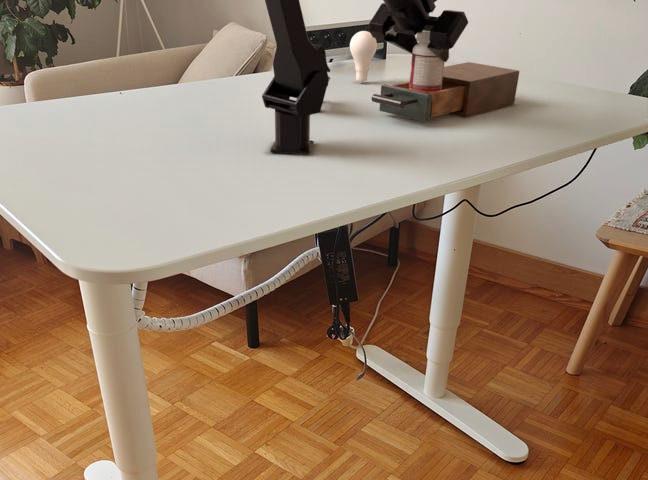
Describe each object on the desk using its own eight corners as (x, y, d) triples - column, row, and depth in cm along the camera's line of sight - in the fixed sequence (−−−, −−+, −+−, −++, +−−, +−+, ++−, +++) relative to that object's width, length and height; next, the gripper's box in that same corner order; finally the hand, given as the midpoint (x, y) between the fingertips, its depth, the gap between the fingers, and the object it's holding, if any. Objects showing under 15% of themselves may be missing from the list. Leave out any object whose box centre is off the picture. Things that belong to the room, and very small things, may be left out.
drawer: (407, 126, 123) (410, 98, 120) (361, 115, 130) (363, 88, 127) (475, 109, 134) (479, 83, 132) (429, 99, 141) (432, 74, 139)
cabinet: (465, 117, 132) (470, 81, 129) (415, 106, 140) (418, 71, 136) (514, 104, 142) (519, 70, 138) (464, 94, 149) (468, 61, 146)
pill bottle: (414, 90, 134) (420, 27, 128) (444, 94, 132) (452, 29, 126) (404, 96, 130) (409, 31, 124) (435, 100, 127) (443, 33, 121)
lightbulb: (375, 86, 156) (378, 33, 150) (348, 85, 156) (350, 32, 150) (373, 80, 161) (376, 29, 155) (347, 80, 161) (349, 28, 155)
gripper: (470, -44, 110) (497, 27, 123) (384, -48, 122) (417, 17, 134) (433, 14, 110) (465, 78, 122) (350, 4, 122) (387, 64, 134)
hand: (433, 57), depth 128 cm, fingers closed on pill bottle, 6 cm apart
